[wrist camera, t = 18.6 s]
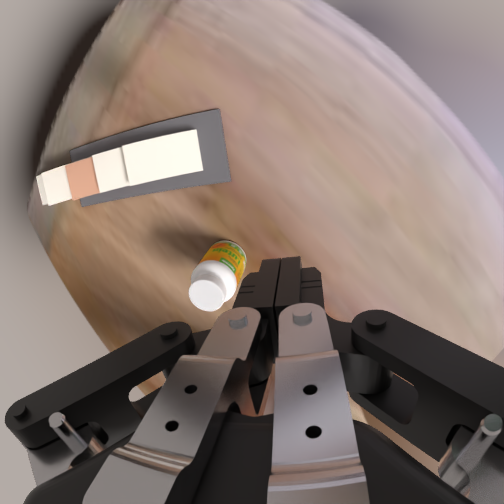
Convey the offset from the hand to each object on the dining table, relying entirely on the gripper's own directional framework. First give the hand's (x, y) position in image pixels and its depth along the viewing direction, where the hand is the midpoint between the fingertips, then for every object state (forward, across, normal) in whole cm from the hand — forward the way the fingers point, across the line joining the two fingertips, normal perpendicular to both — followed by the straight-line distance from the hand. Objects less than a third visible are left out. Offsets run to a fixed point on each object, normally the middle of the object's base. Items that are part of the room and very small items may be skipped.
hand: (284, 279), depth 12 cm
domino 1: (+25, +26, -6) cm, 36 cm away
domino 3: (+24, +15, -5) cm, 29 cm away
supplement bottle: (+26, +10, +10) cm, 29 cm away
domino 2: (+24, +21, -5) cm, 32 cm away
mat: (+26, +20, -5) cm, 33 cm away
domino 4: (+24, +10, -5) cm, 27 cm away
